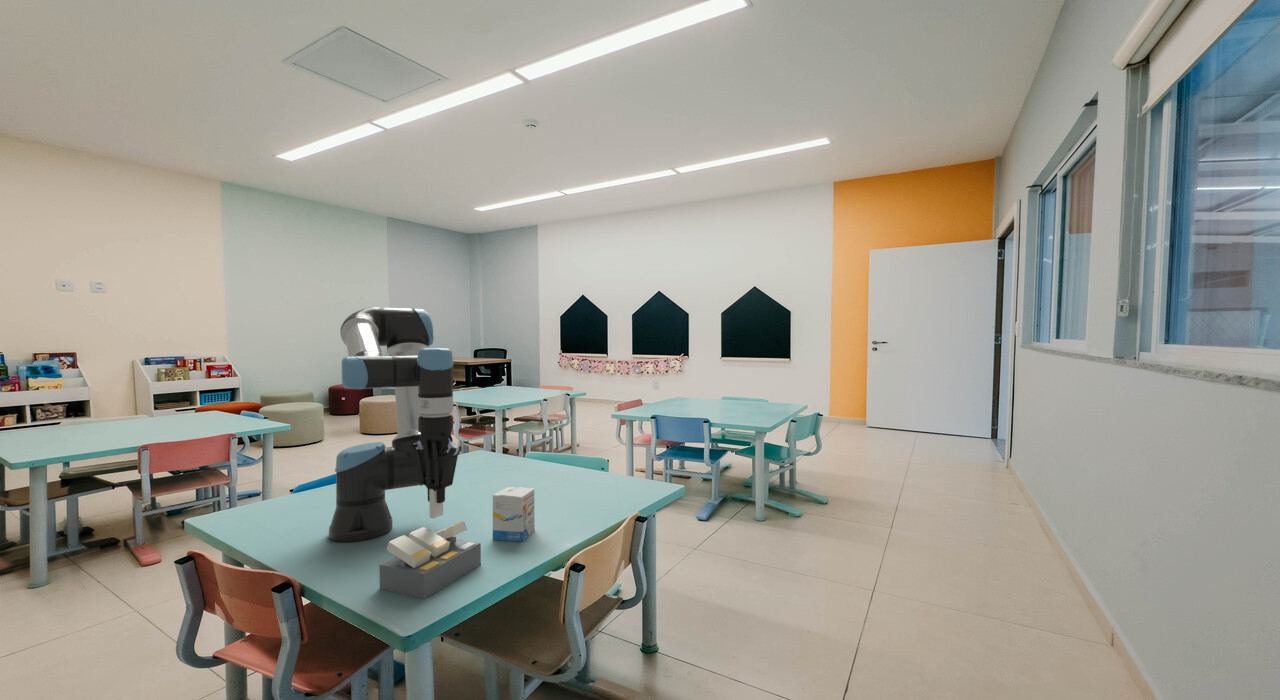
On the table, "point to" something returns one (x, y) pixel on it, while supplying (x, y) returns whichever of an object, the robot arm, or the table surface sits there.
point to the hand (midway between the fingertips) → (436, 515)
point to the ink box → (513, 514)
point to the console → (430, 570)
